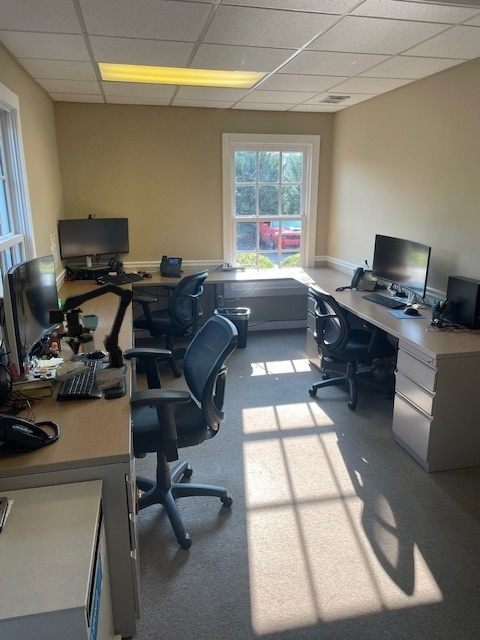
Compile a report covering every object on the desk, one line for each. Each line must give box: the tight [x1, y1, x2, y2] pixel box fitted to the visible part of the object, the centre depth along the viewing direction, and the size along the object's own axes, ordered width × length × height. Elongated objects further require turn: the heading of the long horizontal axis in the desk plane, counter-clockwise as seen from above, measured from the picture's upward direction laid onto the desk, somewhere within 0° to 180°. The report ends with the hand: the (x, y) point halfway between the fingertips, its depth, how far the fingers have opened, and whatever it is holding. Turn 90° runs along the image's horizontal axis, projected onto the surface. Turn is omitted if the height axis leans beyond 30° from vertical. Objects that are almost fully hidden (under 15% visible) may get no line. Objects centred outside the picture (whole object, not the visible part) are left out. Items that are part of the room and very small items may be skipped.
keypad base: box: [55, 365, 91, 382], centre depth 216 cm, size 10×16×2 cm, turn 151°
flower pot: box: [80, 313, 99, 331], centre depth 298 cm, size 9×9×9 cm
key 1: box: [74, 361, 85, 369], centre depth 220 cm, size 4×4×4 cm
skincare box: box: [80, 330, 96, 354], centre depth 245 cm, size 6×4×12 cm
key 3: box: [56, 367, 67, 376], centre depth 211 cm, size 4×4×4 cm
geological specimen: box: [95, 367, 124, 392], centre depth 202 cm, size 11×6×15 cm
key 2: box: [62, 360, 76, 372], centre depth 215 cm, size 4×4×4 cm
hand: (76, 354), depth 218 cm, fingers closed
